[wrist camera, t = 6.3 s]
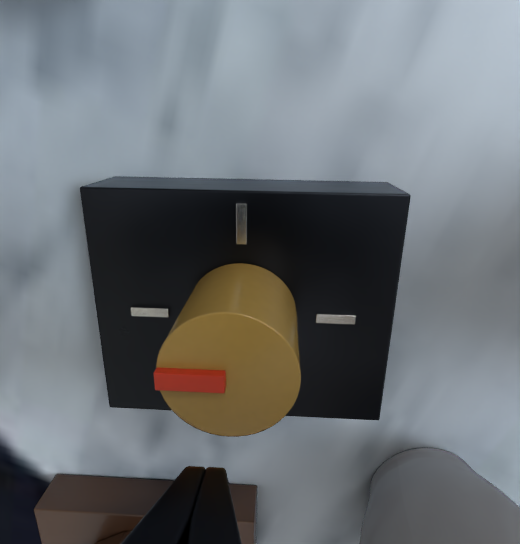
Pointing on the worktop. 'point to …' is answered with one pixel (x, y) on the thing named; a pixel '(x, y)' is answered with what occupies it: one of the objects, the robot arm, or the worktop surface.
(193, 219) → the dimmer panel
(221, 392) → the dimmer knob
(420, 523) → the mug
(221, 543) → the robot arm
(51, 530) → the switch block
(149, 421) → the worktop surface
